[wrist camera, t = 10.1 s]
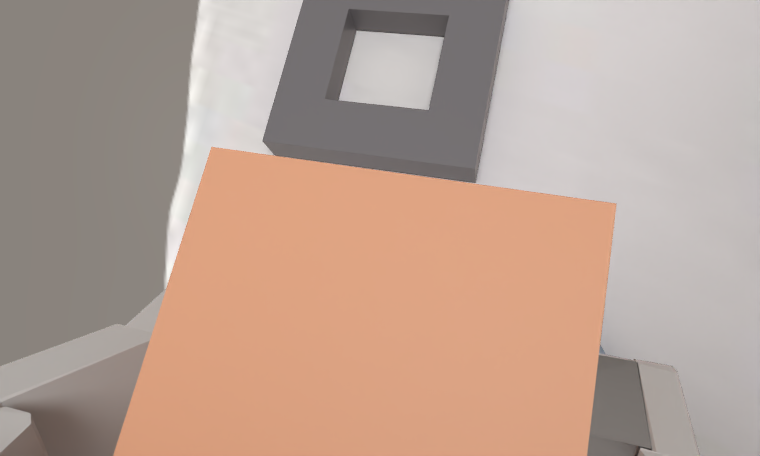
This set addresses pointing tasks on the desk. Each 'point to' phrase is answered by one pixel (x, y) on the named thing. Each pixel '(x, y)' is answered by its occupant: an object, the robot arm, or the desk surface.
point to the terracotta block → (373, 318)
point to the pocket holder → (378, 122)
